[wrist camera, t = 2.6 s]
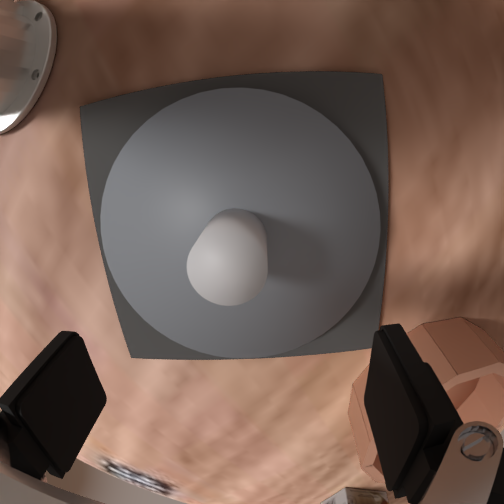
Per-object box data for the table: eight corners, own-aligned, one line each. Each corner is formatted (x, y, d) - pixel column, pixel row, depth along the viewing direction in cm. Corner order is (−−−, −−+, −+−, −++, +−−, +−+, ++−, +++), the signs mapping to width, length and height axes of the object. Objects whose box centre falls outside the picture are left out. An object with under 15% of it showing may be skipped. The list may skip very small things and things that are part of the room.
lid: (91, 117, 19) (39, 114, 13) (369, 86, 18) (408, 69, 12) (138, 349, 25) (113, 398, 19) (366, 339, 24) (388, 390, 18)
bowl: (359, 332, 24) (384, 390, 18) (503, 307, 23) (543, 345, 17) (341, 445, 30) (351, 495, 23) (461, 417, 29) (482, 456, 22)
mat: (82, 107, 19) (79, 106, 19) (380, 75, 18) (382, 74, 17) (132, 355, 26) (131, 357, 26) (374, 344, 25) (375, 347, 24)
